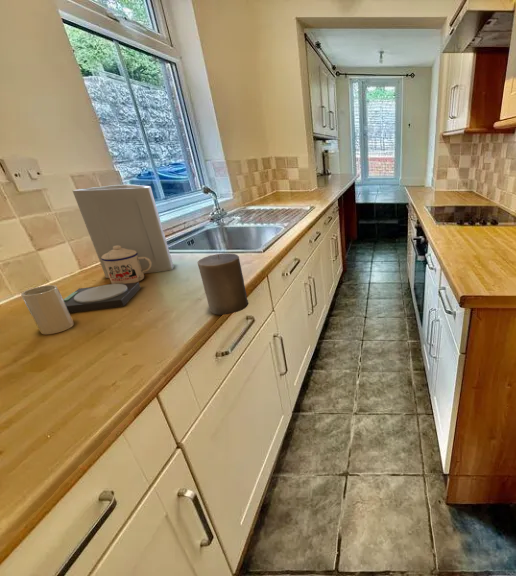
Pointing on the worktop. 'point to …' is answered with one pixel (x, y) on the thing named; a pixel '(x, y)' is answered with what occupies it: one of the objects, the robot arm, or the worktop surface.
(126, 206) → the light grey box
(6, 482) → the worktop surface
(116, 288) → the scale
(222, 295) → the pillar candle
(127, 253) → the teacup with lid
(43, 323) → the cup
